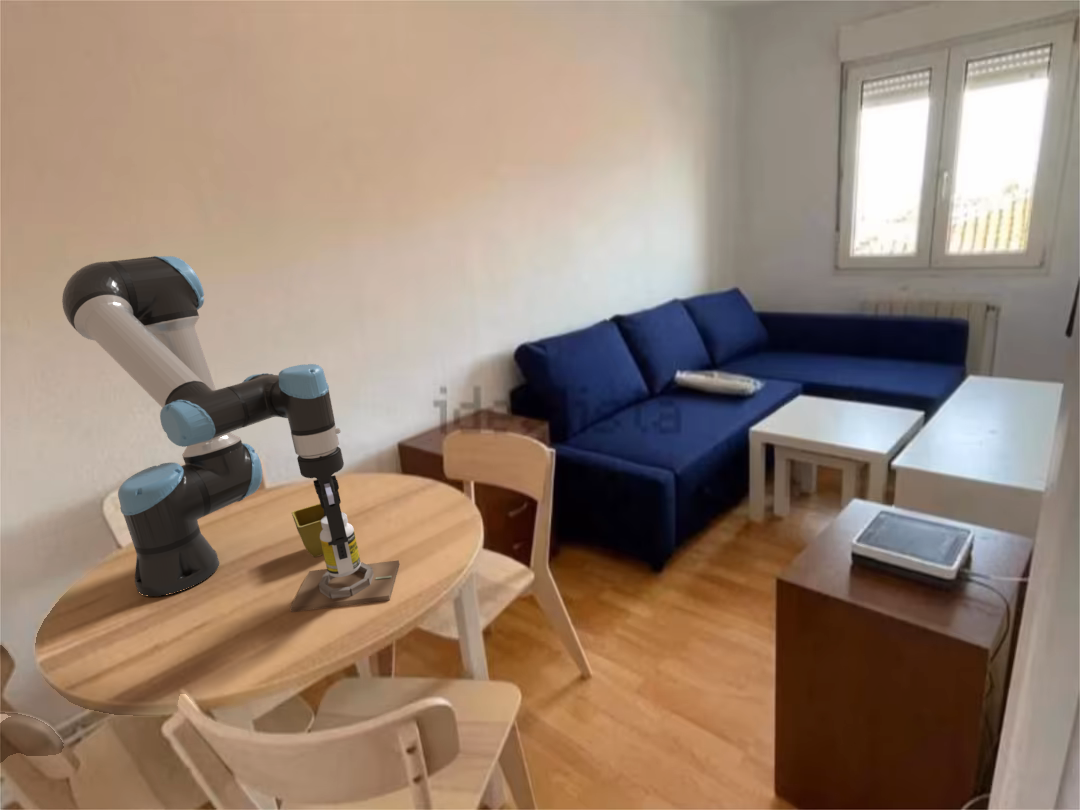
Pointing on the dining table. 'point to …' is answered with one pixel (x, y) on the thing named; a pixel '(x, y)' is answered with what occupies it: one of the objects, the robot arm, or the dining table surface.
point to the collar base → (347, 587)
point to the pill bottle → (328, 550)
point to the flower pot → (310, 527)
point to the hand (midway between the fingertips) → (343, 562)
